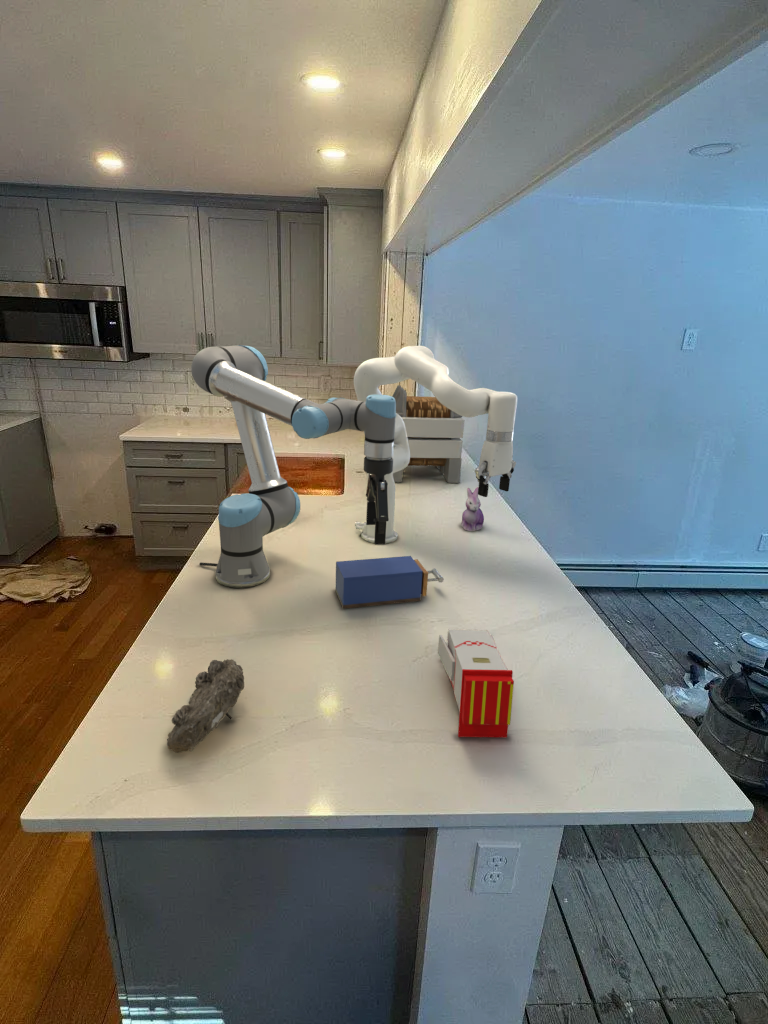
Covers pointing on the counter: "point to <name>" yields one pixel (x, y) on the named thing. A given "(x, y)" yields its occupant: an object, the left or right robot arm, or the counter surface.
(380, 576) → the cabinet
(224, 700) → the fossil
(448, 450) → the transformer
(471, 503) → the figurine
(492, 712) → the toy
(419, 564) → the drawer
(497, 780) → the counter surface
